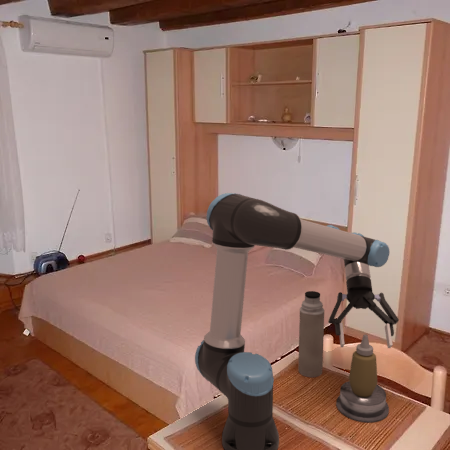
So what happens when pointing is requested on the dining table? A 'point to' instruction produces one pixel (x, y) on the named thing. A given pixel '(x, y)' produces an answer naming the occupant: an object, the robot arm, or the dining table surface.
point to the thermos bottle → (311, 335)
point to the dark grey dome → (362, 404)
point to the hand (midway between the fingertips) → (366, 346)
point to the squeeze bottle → (363, 369)
